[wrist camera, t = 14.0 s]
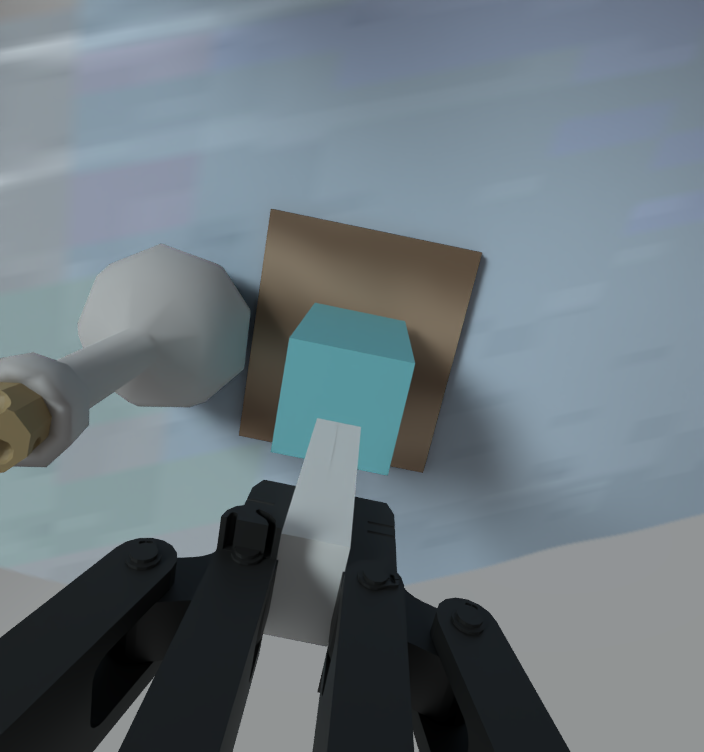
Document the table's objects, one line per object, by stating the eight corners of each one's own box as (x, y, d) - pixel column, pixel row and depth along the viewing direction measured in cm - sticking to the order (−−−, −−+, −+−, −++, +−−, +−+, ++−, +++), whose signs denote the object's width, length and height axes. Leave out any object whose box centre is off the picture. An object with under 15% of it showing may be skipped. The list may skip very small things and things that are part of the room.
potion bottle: (136, 222, 30) (-194, 235, 13) (281, 275, 30) (153, 357, 13) (107, 359, 32) (-200, 522, 15) (241, 406, 33) (90, 615, 16)
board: (273, 209, 29) (270, 208, 29) (480, 252, 29) (482, 252, 29) (241, 431, 33) (238, 435, 33) (422, 468, 34) (422, 472, 33)
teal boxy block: (314, 302, 29) (289, 337, 21) (405, 321, 29) (415, 363, 21) (299, 388, 31) (270, 451, 22) (385, 405, 31) (387, 475, 22)
